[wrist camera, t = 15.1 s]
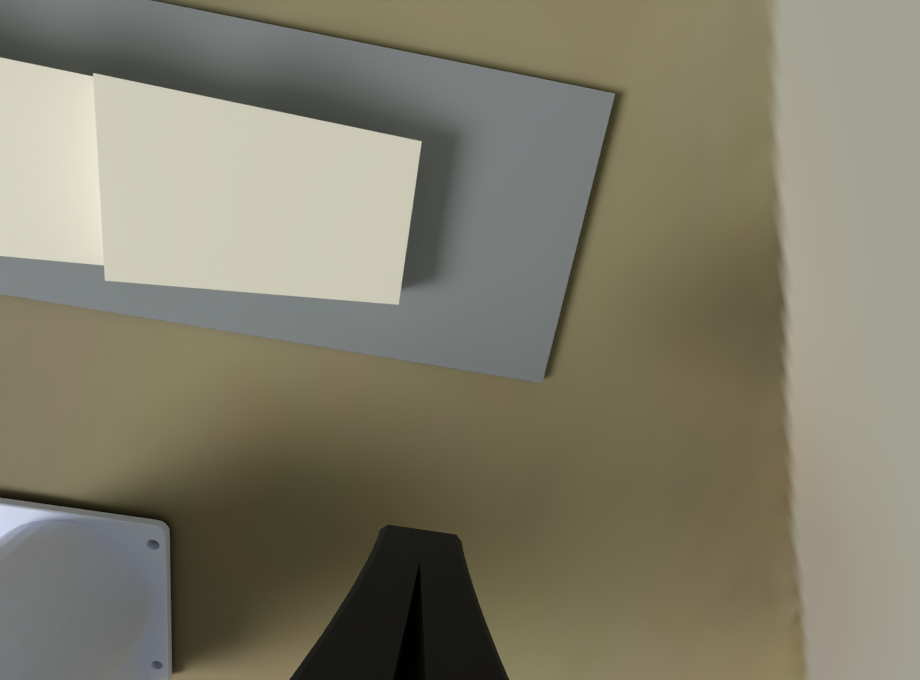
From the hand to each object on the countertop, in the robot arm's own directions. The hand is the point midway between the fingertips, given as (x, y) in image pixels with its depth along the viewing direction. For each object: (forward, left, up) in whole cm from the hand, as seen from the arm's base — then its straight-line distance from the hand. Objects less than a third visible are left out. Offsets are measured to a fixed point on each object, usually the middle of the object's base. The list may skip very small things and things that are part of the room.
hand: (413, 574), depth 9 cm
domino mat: (+5, +10, -10) cm, 16 cm away
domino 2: (+5, +2, -9) cm, 11 cm away
